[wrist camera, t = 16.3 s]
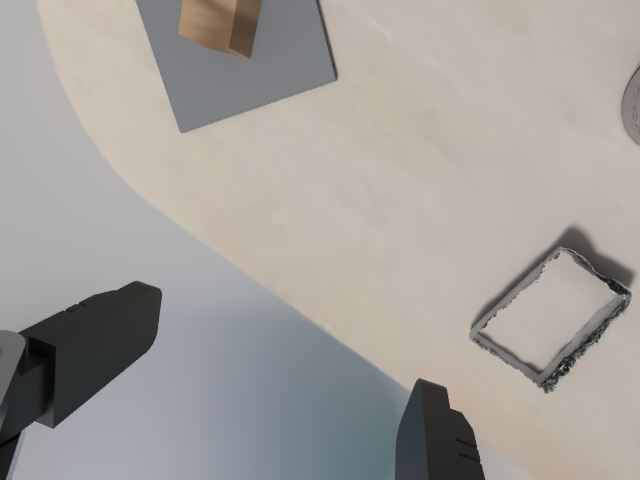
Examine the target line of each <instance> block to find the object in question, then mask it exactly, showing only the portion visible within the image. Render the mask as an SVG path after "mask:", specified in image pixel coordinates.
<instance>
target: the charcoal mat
mask: <svg viewBox="0 0 640 480" xmlns="http://www.w3.org/2000/svg"><path fill="white" fill-rule="evenodd" d="M182 1H183V0H136V3H137V6H138V9H139V11H140V14H141V17H142V20H143V23H144V26H145V29H146V32H147V35H148V38H149V41H150V44H151V47H152V50H153V53H154V56H155V59H156V62H157V65H158V68H159V71H160V74H161V77H162V80H163V83H164V86H165V88H166V91H167V94H168V97H169V100H170V103H171V106H172V109H173V112H174V115H175V118H176V121H177V124H178V127H179V130H180V133H185V132H188V131H191V130H193V129H196V128H199V127H202V126H205V125H208V124H211V123H214V122H217V121H220V120H223V119H226V118H229V117H232V116H234V115H237V114H240V113H243V112H246V111H249V110H252V109H255V108H258V107H261V106H264V105H267V104H270V103H273V102H275V101H278V100H281V99H284V98H287V97H290V96H293V95H296V94H299V93H302V92H305V91H308V90H311V89H313V88H316V87H319V86H322V85H325V84H328V83H331V82H334V81H337V80H336V76H335V72H334V68H333V64H332V60H331V56H330V52H329V48H328V44H327V40H326V36H325V32H324V28H323V24H322V20H321V16H320V12H319V8H318V4H317V1H316V0H262V1H261V7H260V12H259V17H258V22H257V28H256V33H255V38H254V44H253V49H252V54H251V59H247V58H243V57H239V56H236V55H232V54H228V53H224V52H221V51H217V50H213V49H209V48H206V47H203V46H201V45H199V44H197V43H195V42H193V41H191V40H189V39H187V38H185V37H183V36H181V35H178V31H179V24H180V16H181V9H182Z"/></svg>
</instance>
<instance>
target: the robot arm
mask: <svg viewBox="0 0 640 480" xmlns="http://www.w3.org/2000/svg"><path fill="white" fill-rule="evenodd" d="M622 119H623V123H624V127H625V129H626V131H627V133H628V134H629V136H630V137H631V138H632V139H633V141H634V142H635V143H636V144H637V145H639V146H640V68H639V69H638V71H637V72H636V73H635V75H634V76H633V78H632V79H631V80H630V82H629V84H628V87H627V89H626V91H625V93H624V98H623V102H622ZM161 299H162V292H161V290H160V289H159V288H157V287H154V286H151V285H148V284H145V283H142V282H139V281H134V282H132V283H130V284H128V285H126V286H124V287H122V288H120V289H118V290H116V291H115V290H113V291H109V292H104V293H101V294H96V295H93V296H91V297H89V298H87V299H85V300H83V301H81V302H79V304H75V305H73V306H71V307H69V308H67V309H66V311H61V312H59V313H57V314H55V315H53V316H51V317H49V318H47V319H45V320H43V321H41V322H39V323H37V324H35V325H33V326H31V327H29V328H27V329H25V330H23V331H21V332H19V333H16V332H12V331H7V330H0V480H12V477H13V473H14V470H15V467H16V464H17V461H18V457H19V454H20V451H21V448H22V444H23V441H24V437H25V428H26V427H27V426H29V425H30V424H31V423H33V422H34V421H36V422H38V423H41V424H43V425H46V426H48V427H51V428H55V427H56V426H57V425H58V424H59V423H61V422H62V421H63V420H64V419H66V418H67V417H68V416H69V415H70V414H71V413H73V412H74V411H75V410H77V408H79V407H80V406H81V405H83V404H84V403H85V402H86V401H87V400H89V399H90V398H91V397H92V396H94V395H95V394H96V393H97V392H98V391H100V390H101V389H102V388H103V387H105V386H106V385H107V384H108V383H109V382H111V381H112V380H113V379H114V378H116V377H117V376H118V375H119V374H120V373H121V372H123V371H124V370H125V369H126V368H127V367H129V366H130V365H131V364H133V363H134V362H135V361H136V360H137V359H139V358H140V357H141V356H142V355H144V354H145V353H146V352H147V351H148V350H149V349H150V347H151V346H152V344H153V343H154V340H155V338H156V335H157V330H158V322H159V315H160V307H161ZM395 480H485V477H484V473H483V469H482V465H481V464H480V456H479V452H478V450H477V444H476V440H475V436H474V432H473V429H472V427H471V426H470V424H469V423H468V421H467V420H466V418H465V417H464V415H463V414H462V413H461V412H458V411H456V410H453V409H450V404H449V399H448V393H447V389H446V387H444V386H441V385H438V384H435V383H432V382H429V381H426V380H423V379H420V378H419V379H418V380H417V381H416V383H415V386H414V388H413V391H412V393H411V396H410V398H409V401H408V404H407V406H406V409H405V412H404V414H403V417H402V419H401V422H400V425H399V429H398V433H397V439H396V458H395Z"/></svg>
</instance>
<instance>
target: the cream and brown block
mask: <svg viewBox="0 0 640 480" xmlns="http://www.w3.org/2000/svg"><path fill="white" fill-rule="evenodd" d="M261 1H262V0H183V1H182V9H181V16H180V24H179V31H178V35H181V36H183V37H185V38H187V39H189V40H191V41H193V42H195V43H197V44H199V45H201V46H203V47H206V48H209V49H213V50H217V51H221V52H224V53H228V54H232V55H236V56H239V57H243V58H247V59H251V54H252V49H253V44H254V38H255V33H256V28H257V22H258V17H259V12H260V7H261Z"/></svg>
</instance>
